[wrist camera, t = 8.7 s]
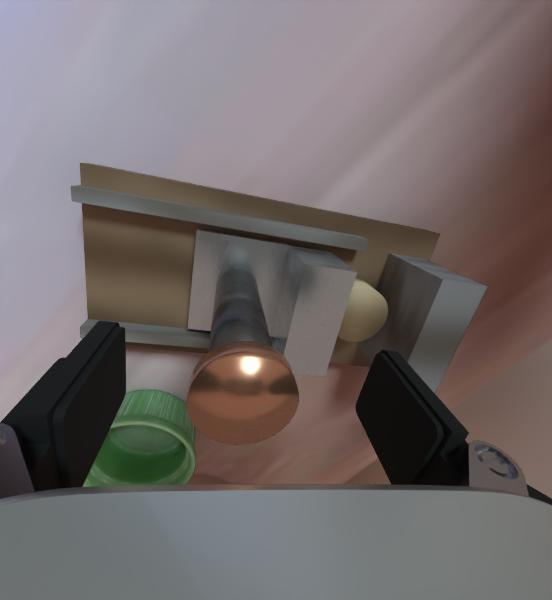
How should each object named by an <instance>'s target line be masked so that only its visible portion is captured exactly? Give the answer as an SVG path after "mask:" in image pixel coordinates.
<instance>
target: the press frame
mask: <svg viewBox="0 0 552 600" xmlns="http://www.w3.org/2000/svg"><path fill="white" fill-rule="evenodd" d="M80 174H81V185H77V186H71V196H72V201H74V202H79V203H82V213H83V232H84V252H85V271H86V290H87V310H88V320H87V321H86V322H85V323H84V324H83V325H82V326H81V327H80V337H81V338H84V337H85V336H86V334H87V333H88V332H89V331H90V330H91V329H92V328H93V327H94V325H95V324H96V323H97V322H98V321H110V322H118V323H119V325H120V327H124V328H125V346H126V347H137V348H149V349H162V350H174V351H187V352H199V353H208V351H209V342H210V334H211V331H206V330H196V329H188V318H189V307H190V296H191V286H192V275H193V264H194V253H195V242H196V231H197V228H198V229H204V230H210V231H216V232H222V233H228V234H234V235H240V236H246V237H252V238H258V239H264V240H270V241H276V242H282V243H288V244H289V245H290V246H296V247H302V248H308V249H314V250H320V251H326V252H332V253H333V254H334V255H336V256H337V257H338V258H339V259H341V260H342V261H343V262H345V263H346V264H347V265H349V266H350V267H351V268H352V269H354V270H355V271H356V272H357V276H358V277H360V278H361V279H362V280H364V281H365V282H366V283H367V284H369V285H370V286H371V287H372V288H374V289H375V290H376V291H377V292H379V293H380V294H381V295H382V296H383V297H384V298H385V300H386V302H387V305H388V315H387V319H386V321H385V323H384V325H383V327H382V328H381V329H380V330H379V331H378V332H377V333H376V334H375V335H374V336H372V337H371V338H369V339H366V340H364V341H360V342H349V341H345V340H343V339H341V338H339V337H338V336H337V339H336V342H335V346H334V349H333V352H332V355H331V359H330V362H329V363H336V364H348V365H361V366H371V365H372V362H373V360H374V357H375V355H376V354H377V353H379V352H380V351H381V350H392V351H397V352H399V353H400V355H401V356H402V357H403V358H404V359H405V360H406V361H407V363H408V364H409V365H410V366H411V367H412V368H413V369H414V371H415V372H416V373H417V374H418V375H419V376H420V377H421V379H422V380H423V381H424V382H425V383H426V384H427V385H428V387H429V388H430V389H431V390H432V391H433V392H434V393H435V392H436V390H437V388H438V386H439V384H440V382H441V380H442V378H443V376H444V374H445V372H446V370H447V368H448V366H449V364H450V362H451V360H452V358H453V356H454V354H455V352H456V350H457V348H458V345H459V343H460V341H461V339H462V337H463V335H464V333H465V331H466V329H467V327H468V325H469V323H470V321H471V319H472V317H473V315H474V313H475V311H476V309H477V307H478V305H479V303H480V301H481V299H482V297H483V295H484V293H485V291H486V289H487V286H485V285H483V284H480V283H478V282H476V281H473V280H471V279H469V278H467V277H464V276H462V275H460V274H457V273H455V272H453V271H451V270H448V269H446V268H444V267H441V266H439V265H437V264H434V263H432V262H430V261H429V260H430V258H431V255H432V253H433V250H434V248H435V245H436V243H437V240H438V238H439V235H440V234H438V233H435V232H431V231H428V230H423V229H418V228H413V227H408V226H403V225H398V224H393V223H388V222H383V221H378V220H373V219H368V218H363V217H358V216H352V215H347V214H342V213H337V212H332V211H327V210H322V209H317V208H312V207H307V206H302V205H297V204H292V203H287V202H282V201H277V200H272V199H267V198H262V197H257V196H252V195H246V194H241V193H236V192H231V191H226V190H221V189H216V188H211V187H206V186H201V185H196V184H191V183H186V182H181V181H176V180H171V179H166V178H161V177H156V176H151V175H146V174H140V173H135V172H130V171H125V170H120V169H115V168H110V167H105V166H100V165H95V164H88V163H80ZM270 339H271V338H270ZM271 343H272V342H271ZM272 347H273V346H272Z"/></svg>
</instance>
